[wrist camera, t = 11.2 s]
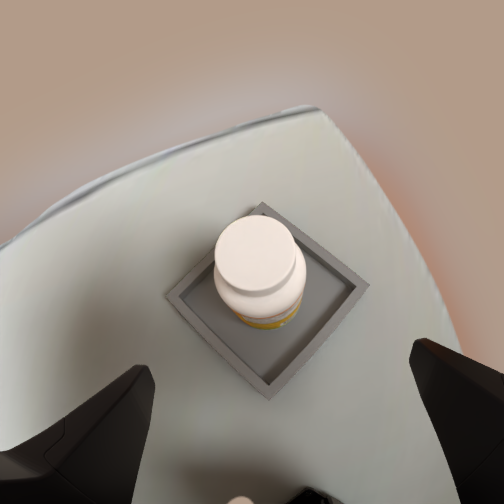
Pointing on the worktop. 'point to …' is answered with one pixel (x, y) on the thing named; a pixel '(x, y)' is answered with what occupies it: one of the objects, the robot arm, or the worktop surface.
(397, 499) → the worktop surface
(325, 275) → the charcoal tray
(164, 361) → the worktop surface
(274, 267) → the supplement bottle
